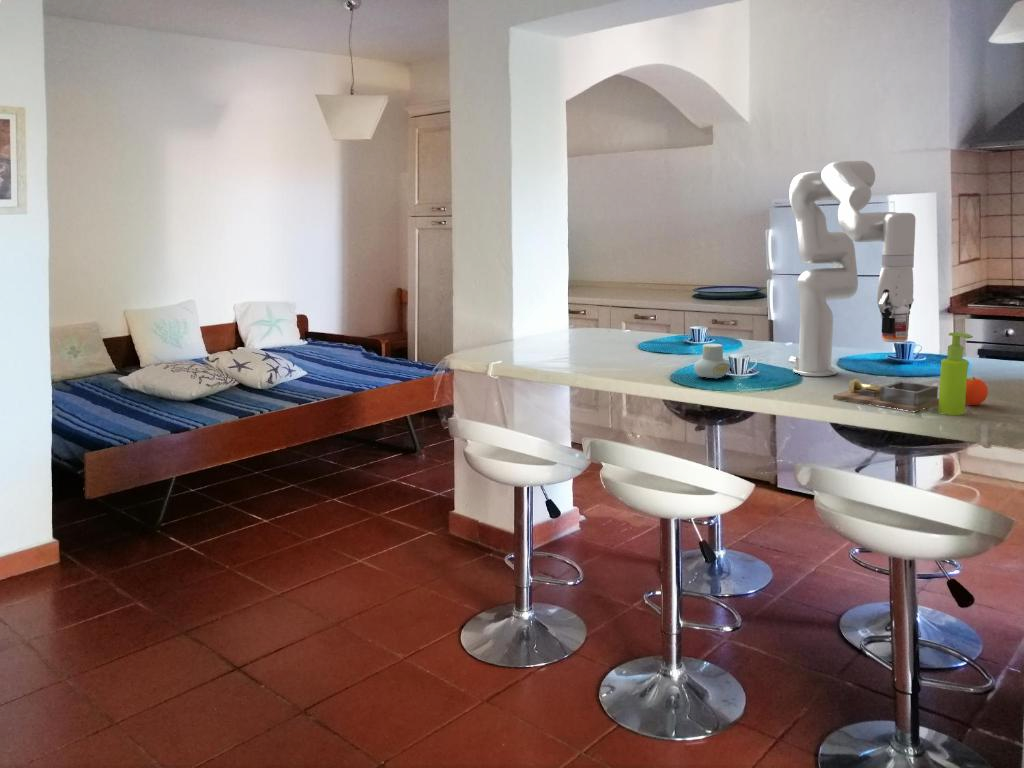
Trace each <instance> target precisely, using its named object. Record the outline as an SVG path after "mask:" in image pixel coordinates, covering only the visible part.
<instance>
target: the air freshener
mask: <svg viewBox="0 0 1024 768" xmlns="http://www.w3.org/2000/svg"><path fill="white" fill-rule="evenodd" d="M723 347H724V346H723V345H722V344H720V343H705V344H703V345H702V358H700V359H699V360H698V361H696V362H695V364H694V366H693V368H694V372H695V373H696V374H697V375H698V376H699V377H701V378H703V377H709V378H710V377H722V376H724V375H725V374H726V373H727V372H728V371H729V369H730V365H731V363H730V362H729V361H728V360H726V359H725V358H723V357H724V355H723V354H724V353H723V352H724V348H723ZM729 363H730V364H729Z"/></svg>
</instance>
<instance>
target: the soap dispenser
mask: <svg viewBox="0 0 1024 768" xmlns="http://www.w3.org/2000/svg"><path fill="white" fill-rule="evenodd" d="M948 336H950V337H951V344H950V345H948V346H947V355H946V356H947V357H946V358H943V359H941V360H940V363H941V364H940V374H939V375H940V376H939V390H938V391H939V393H938V398H939V404H938V407H937V408H938V410H937V412H938V413H939V414H941V413H943V414H942V415H945V414H948V415H947V416H959V415H958V414H963V413H964V412H965V411H966V404H965V399H966V385H967V378H968V370H969V369H968V368H969V367H968V366H969V360H966V359H964V358H963V357H964V346H963V345H961V344H960V342H961V338H964V339H971V338H972V339H973V338H974V336H973V335H971V334H969V333H966V332H948ZM964 414H965V413H964ZM964 414H963V415H964Z"/></svg>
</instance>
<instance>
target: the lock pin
mask: <svg viewBox="0 0 1024 768" xmlns="http://www.w3.org/2000/svg"><path fill="white" fill-rule="evenodd" d="M860 381H861V380H860V379H858V378H855V379H852V380H851V379H850V380H849V390H850V392H856V391H859V390H861V389H863V390H870V391H876V393H879V394H880V388H881V387H883V385H877V384H870V383H865V382H864V383H862V382H860Z"/></svg>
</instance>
